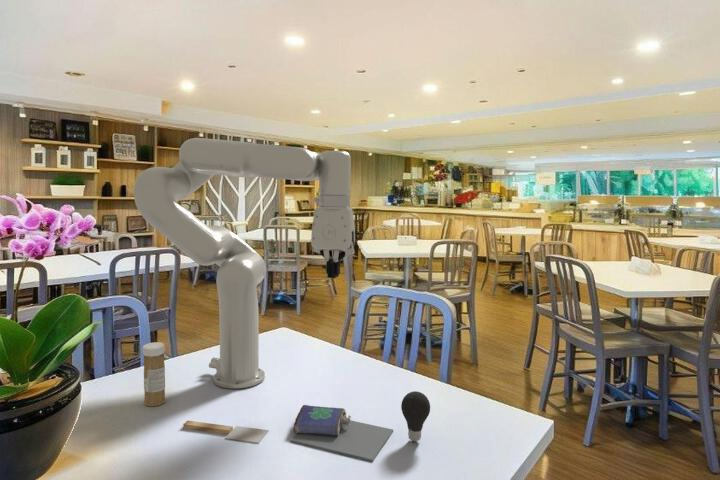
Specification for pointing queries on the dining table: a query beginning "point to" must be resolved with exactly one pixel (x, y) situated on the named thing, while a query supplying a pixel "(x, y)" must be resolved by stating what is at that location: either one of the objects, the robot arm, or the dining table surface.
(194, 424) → the turner
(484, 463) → the dining table surface
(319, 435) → the slate board
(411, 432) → the light bulb
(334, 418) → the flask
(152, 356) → the sprinkles bottle
